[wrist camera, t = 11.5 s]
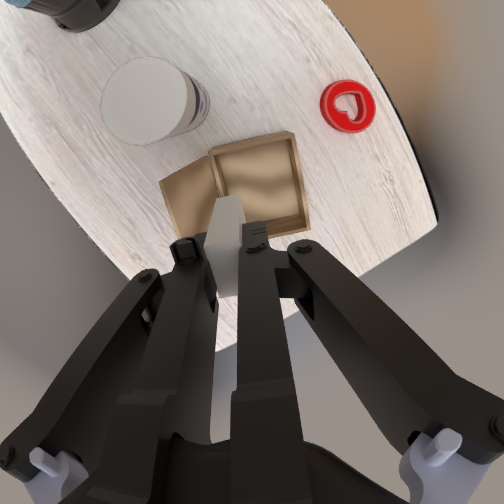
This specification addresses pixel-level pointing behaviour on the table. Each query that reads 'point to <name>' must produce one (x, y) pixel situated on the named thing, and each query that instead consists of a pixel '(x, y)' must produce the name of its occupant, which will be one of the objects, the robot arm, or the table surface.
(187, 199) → the lid
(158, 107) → the container
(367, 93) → the decorative ornament
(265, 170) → the wooden box
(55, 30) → the table surface
